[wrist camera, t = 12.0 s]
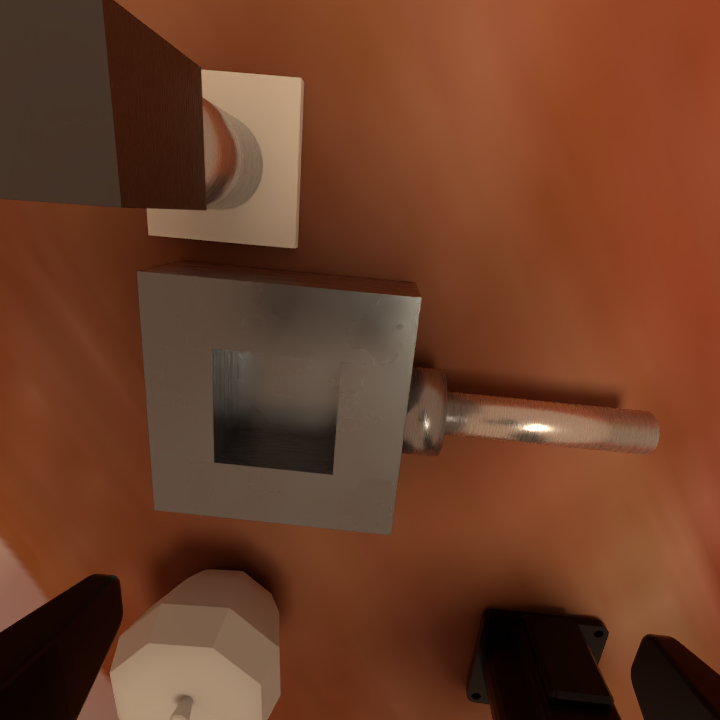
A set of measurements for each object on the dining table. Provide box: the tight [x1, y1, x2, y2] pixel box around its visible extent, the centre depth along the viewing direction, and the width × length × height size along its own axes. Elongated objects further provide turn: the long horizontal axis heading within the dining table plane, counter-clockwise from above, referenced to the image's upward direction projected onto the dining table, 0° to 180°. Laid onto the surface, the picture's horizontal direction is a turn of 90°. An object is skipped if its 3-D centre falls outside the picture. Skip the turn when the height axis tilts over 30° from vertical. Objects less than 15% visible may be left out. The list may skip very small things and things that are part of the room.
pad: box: [147, 70, 304, 249], centre depth 17 cm, size 6×6×1 cm
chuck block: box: [137, 261, 659, 535], centre depth 19 cm, size 10×20×4 cm, turn 85°
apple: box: [110, 569, 280, 720], centre depth 21 cm, size 8×8×7 cm
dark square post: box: [0, 0, 263, 210], centre depth 12 cm, size 3×3×10 cm
